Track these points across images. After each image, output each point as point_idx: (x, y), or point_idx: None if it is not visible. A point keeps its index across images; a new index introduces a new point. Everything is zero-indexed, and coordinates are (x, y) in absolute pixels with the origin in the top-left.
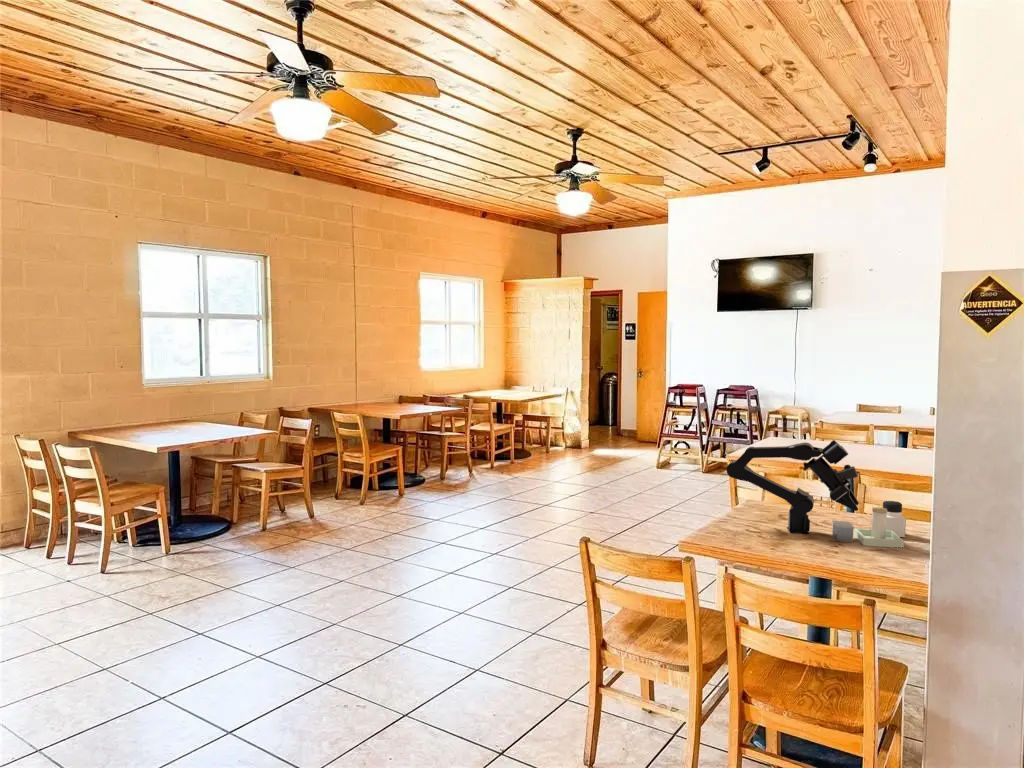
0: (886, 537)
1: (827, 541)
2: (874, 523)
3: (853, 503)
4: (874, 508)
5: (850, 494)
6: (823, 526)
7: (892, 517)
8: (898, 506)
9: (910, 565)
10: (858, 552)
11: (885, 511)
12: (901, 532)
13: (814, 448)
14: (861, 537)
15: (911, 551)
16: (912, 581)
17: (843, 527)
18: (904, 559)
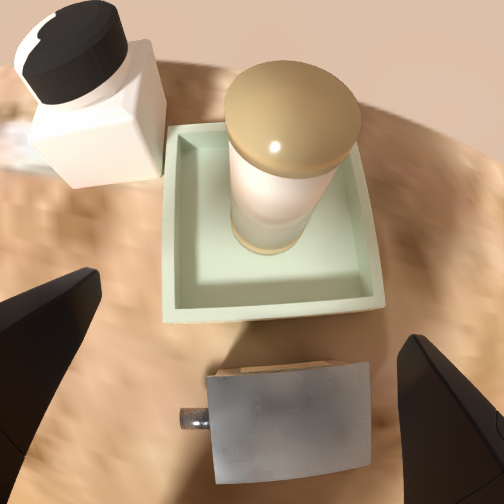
0: (200, 169)
1: (345, 473)
2: (310, 209)
3: (474, 397)
4: (311, 147)
5: (1, 369)
6: (47, 434)
7: (138, 82)
8: (117, 13)
9: None
10: (473, 345)
11: (338, 88)
12: (163, 99)
13: None
14: (333, 313)
15: (376, 130)
16: None
17: (369, 427)
18: (482, 191)
